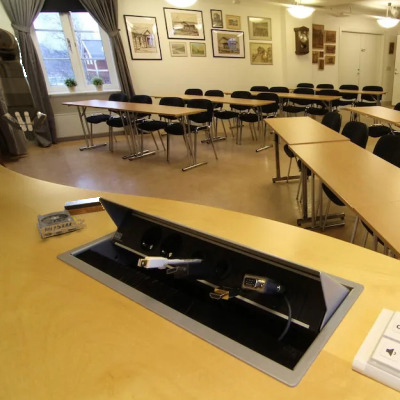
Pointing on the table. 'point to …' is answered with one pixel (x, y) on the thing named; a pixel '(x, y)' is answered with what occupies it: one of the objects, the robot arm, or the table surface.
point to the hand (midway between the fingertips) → (32, 140)
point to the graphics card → (58, 223)
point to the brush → (83, 206)
